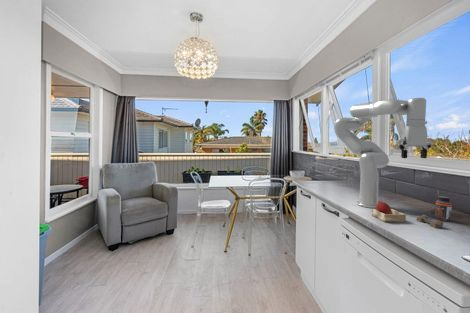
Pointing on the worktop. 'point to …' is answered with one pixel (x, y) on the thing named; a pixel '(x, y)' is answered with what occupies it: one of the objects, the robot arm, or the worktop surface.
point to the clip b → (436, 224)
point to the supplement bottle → (443, 209)
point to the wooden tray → (389, 216)
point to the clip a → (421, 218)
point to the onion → (383, 207)
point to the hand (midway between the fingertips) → (413, 158)
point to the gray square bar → (430, 221)
